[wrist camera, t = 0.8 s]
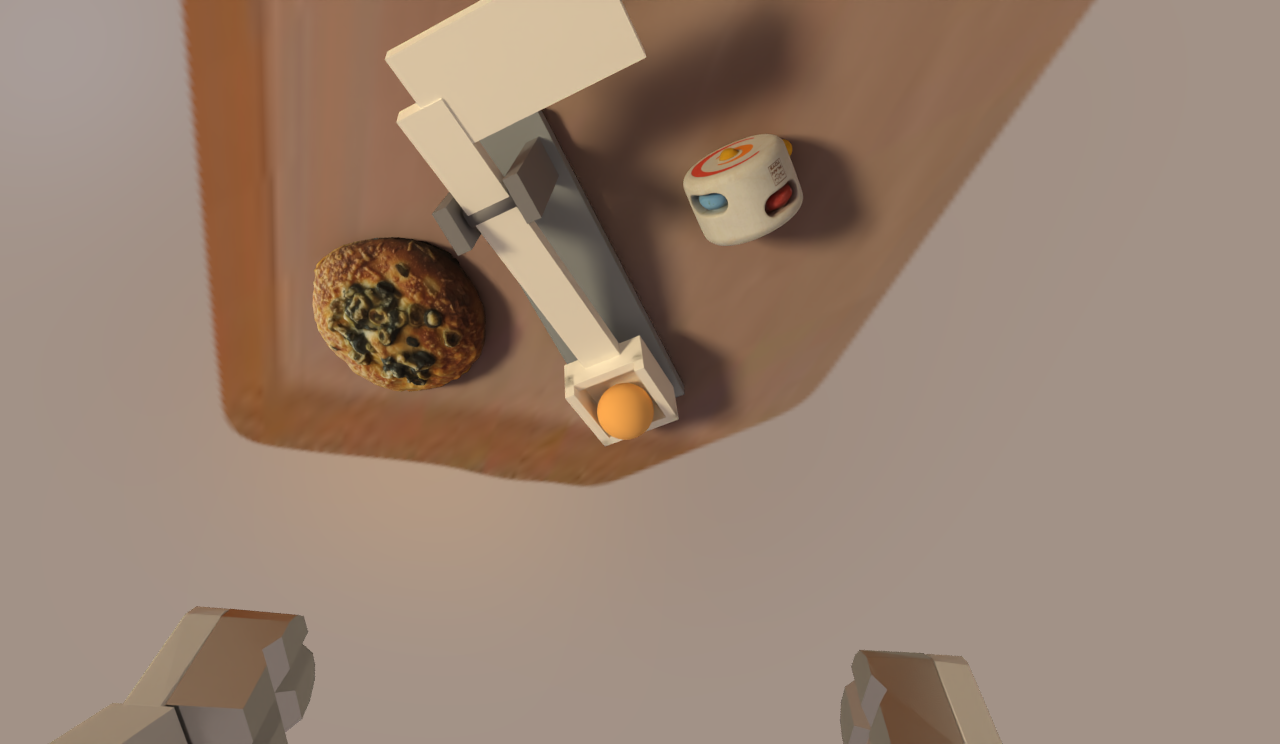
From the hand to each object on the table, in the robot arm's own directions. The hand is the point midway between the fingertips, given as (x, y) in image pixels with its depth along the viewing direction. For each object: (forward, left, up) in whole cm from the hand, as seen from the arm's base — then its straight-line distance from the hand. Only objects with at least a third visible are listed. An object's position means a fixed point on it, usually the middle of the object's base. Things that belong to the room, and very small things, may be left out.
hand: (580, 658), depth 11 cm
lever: (+4, +4, -32) cm, 32 cm away
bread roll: (+19, +5, -37) cm, 42 cm away
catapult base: (+8, +7, -36) cm, 38 cm away
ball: (+8, +15, -32) cm, 36 cm away
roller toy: (-3, +5, -36) cm, 37 cm away
